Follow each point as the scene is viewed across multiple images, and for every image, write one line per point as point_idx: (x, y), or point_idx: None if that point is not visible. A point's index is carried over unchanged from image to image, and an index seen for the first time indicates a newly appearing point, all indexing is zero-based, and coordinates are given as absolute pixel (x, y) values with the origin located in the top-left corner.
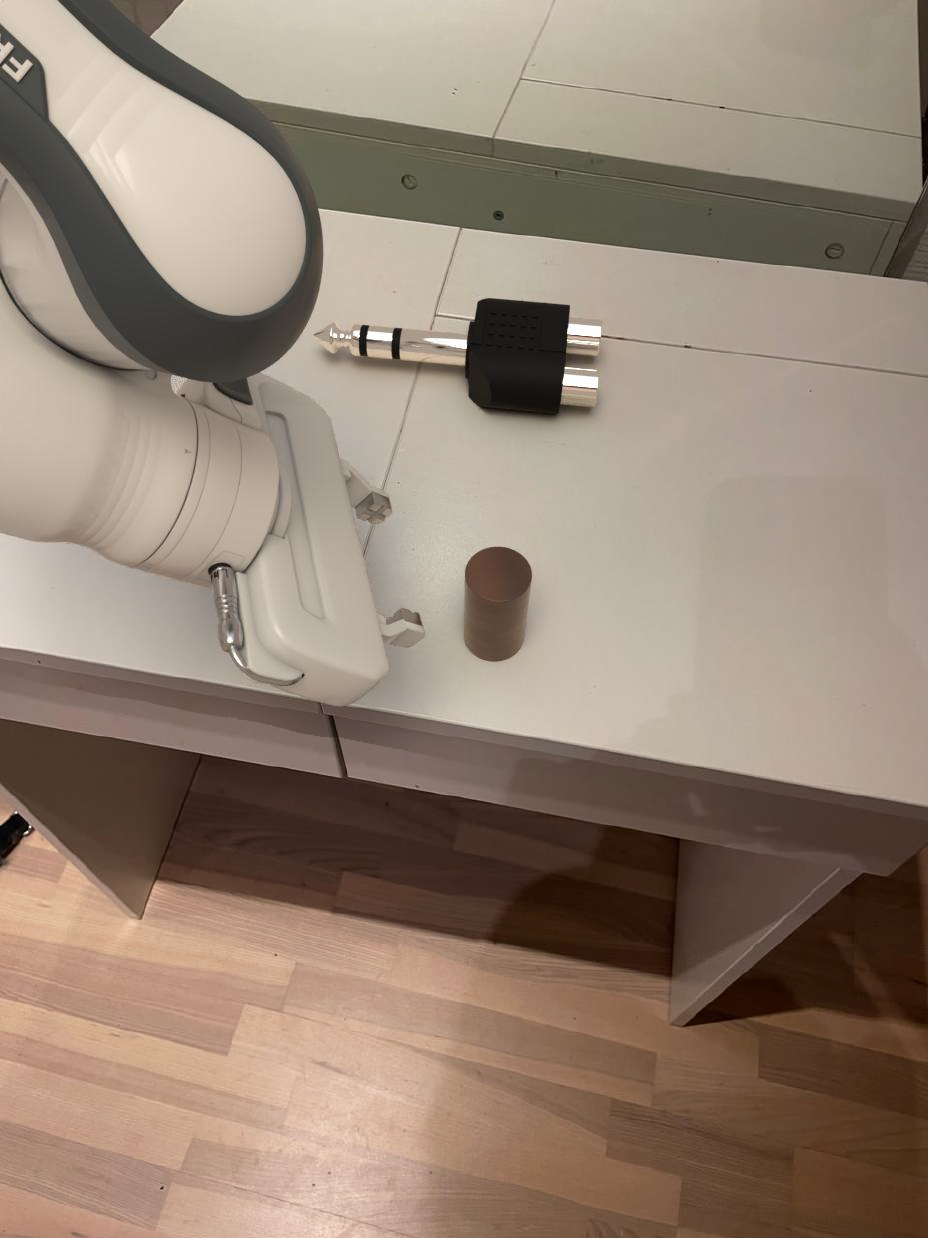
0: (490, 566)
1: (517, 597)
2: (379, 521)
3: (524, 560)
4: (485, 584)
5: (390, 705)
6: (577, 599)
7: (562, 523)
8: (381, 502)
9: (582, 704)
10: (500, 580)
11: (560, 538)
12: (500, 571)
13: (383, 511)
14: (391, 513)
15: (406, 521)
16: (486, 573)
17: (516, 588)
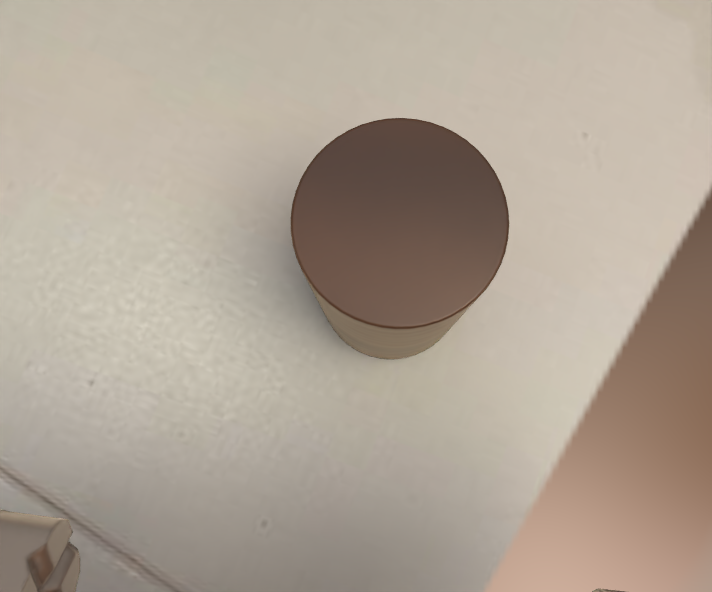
0: (364, 234)
1: (504, 198)
2: (73, 568)
3: (382, 126)
4: (426, 274)
5: (483, 585)
6: (368, 82)
7: (166, 32)
8: (11, 570)
9: (617, 176)
10: (427, 224)
11: (202, 52)
12: (393, 211)
13: (50, 560)
14: (67, 520)
15: (5, 370)
16: (385, 256)
17: (473, 188)
